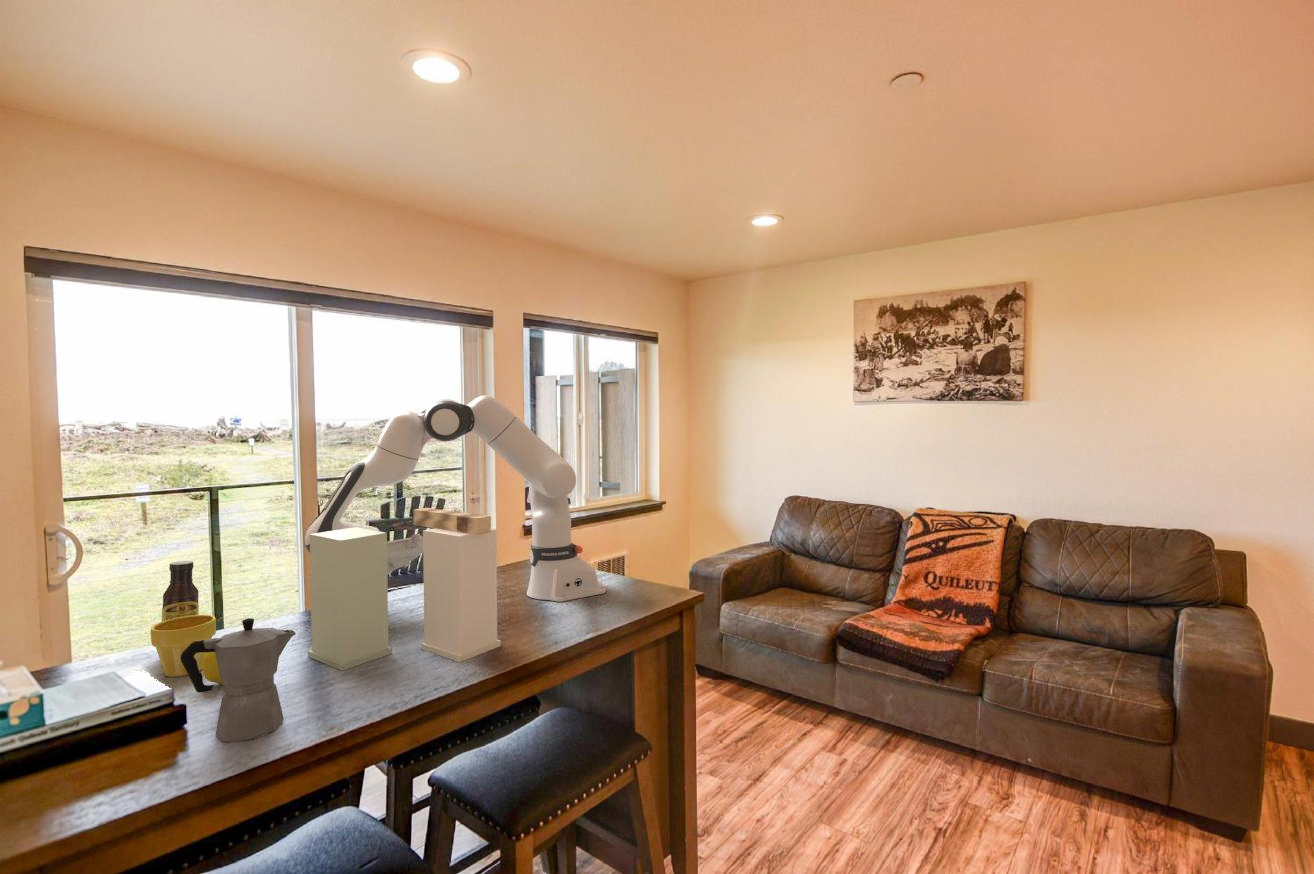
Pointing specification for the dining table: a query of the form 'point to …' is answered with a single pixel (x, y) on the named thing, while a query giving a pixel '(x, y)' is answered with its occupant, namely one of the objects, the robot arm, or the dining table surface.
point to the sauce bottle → (180, 592)
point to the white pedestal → (459, 593)
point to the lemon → (211, 668)
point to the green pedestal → (349, 597)
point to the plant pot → (181, 640)
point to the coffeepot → (243, 679)
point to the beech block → (453, 520)
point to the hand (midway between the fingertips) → (400, 539)
